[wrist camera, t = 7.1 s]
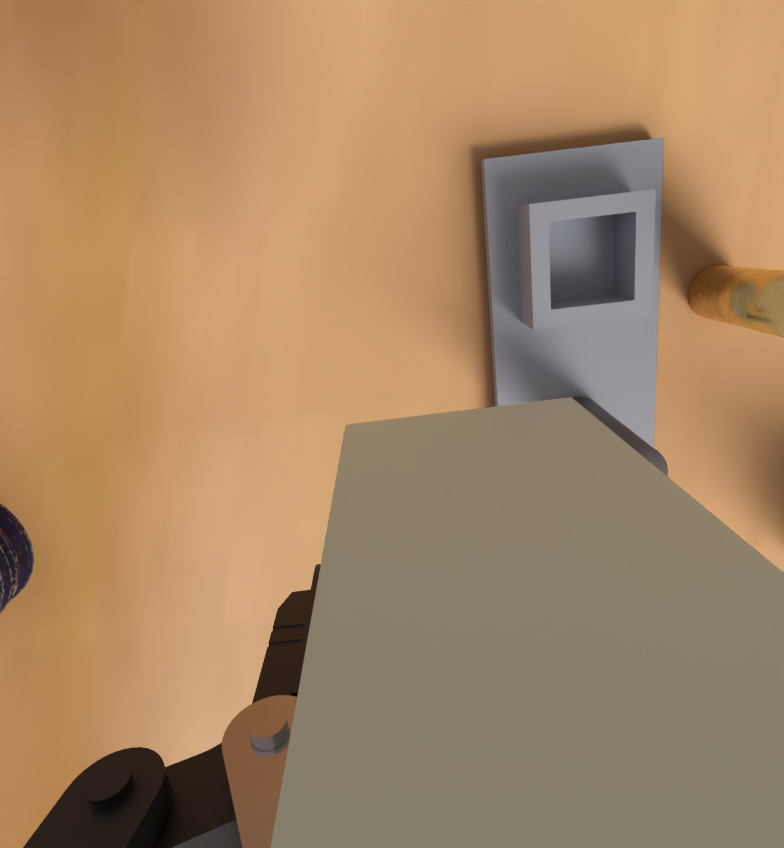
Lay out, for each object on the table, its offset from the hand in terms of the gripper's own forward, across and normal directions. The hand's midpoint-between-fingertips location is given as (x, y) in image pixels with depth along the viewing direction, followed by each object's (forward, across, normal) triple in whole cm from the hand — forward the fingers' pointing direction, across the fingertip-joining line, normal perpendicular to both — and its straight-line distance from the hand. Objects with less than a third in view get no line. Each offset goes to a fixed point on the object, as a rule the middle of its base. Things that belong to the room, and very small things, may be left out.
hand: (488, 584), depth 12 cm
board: (+26, -10, +1) cm, 28 cm away
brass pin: (+26, -19, -1) cm, 32 cm away
